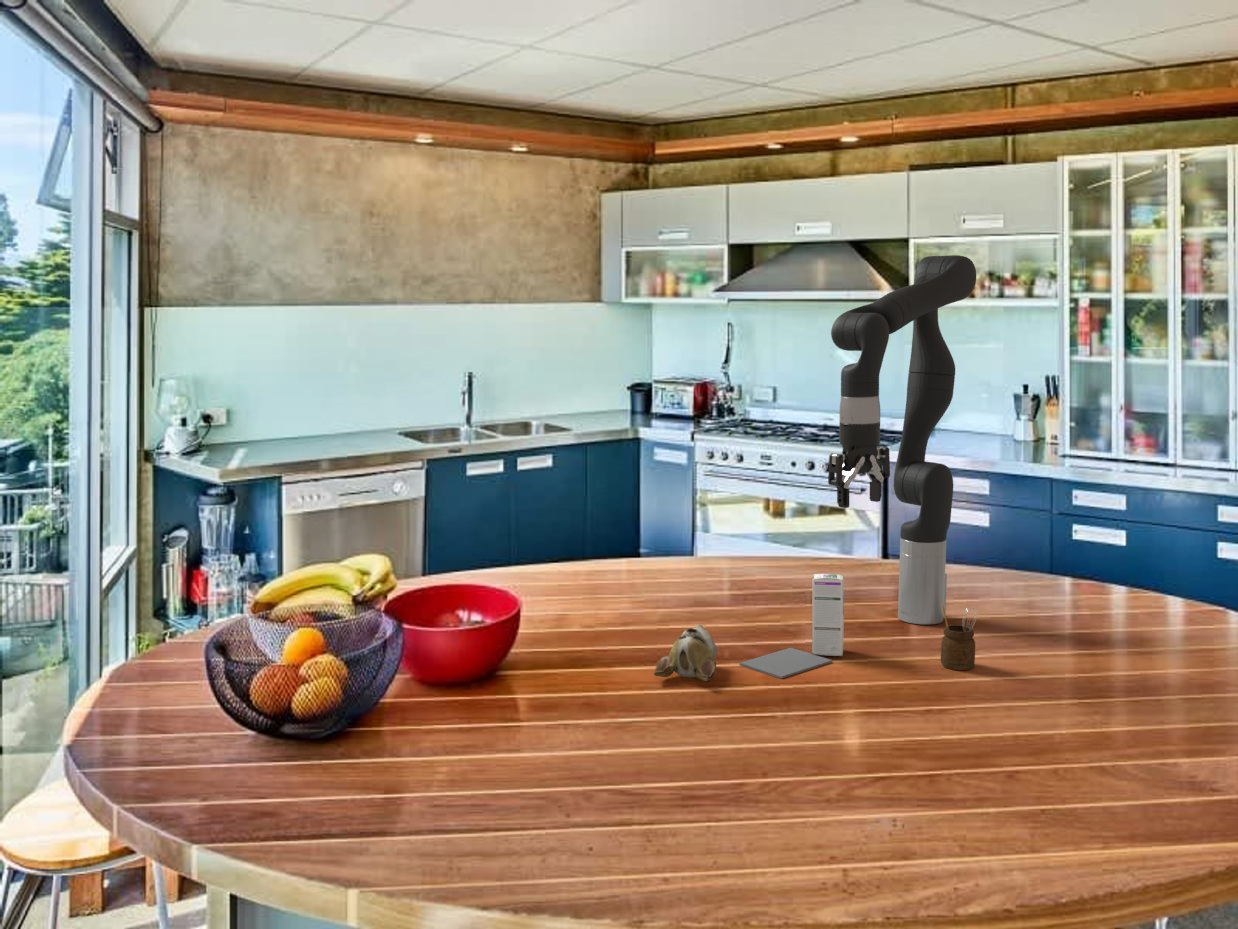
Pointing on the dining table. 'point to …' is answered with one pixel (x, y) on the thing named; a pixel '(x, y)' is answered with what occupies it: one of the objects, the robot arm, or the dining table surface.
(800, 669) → the mat
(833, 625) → the syrup box
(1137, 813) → the dining table surface
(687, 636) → the ceramic sculpture
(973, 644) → the utensil holder
